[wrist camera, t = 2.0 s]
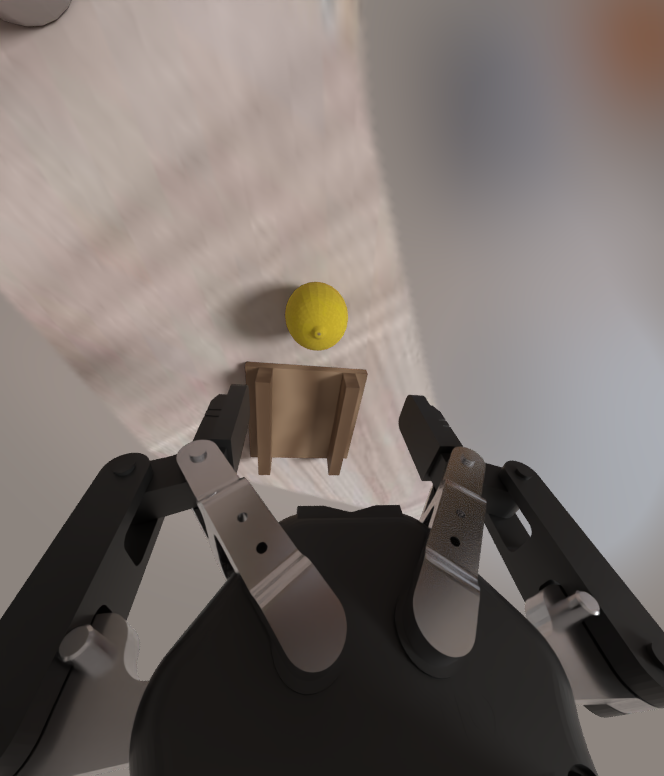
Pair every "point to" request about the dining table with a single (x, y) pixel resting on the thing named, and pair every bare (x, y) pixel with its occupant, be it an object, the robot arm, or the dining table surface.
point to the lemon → (316, 316)
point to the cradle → (302, 412)
